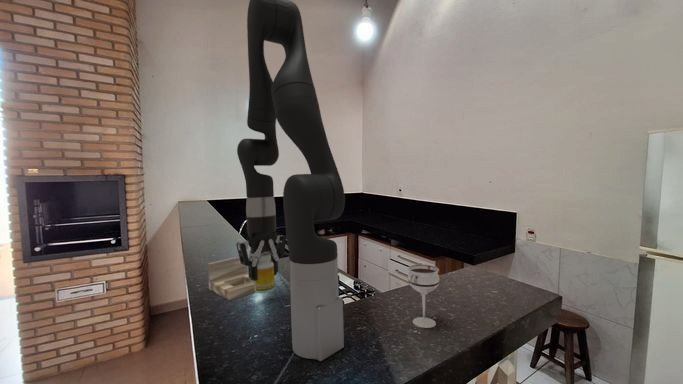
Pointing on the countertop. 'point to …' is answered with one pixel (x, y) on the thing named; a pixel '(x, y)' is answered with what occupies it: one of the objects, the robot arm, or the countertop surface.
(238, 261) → the socket stand
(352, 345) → the countertop surface
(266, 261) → the supplement bottle
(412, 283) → the wineglass
